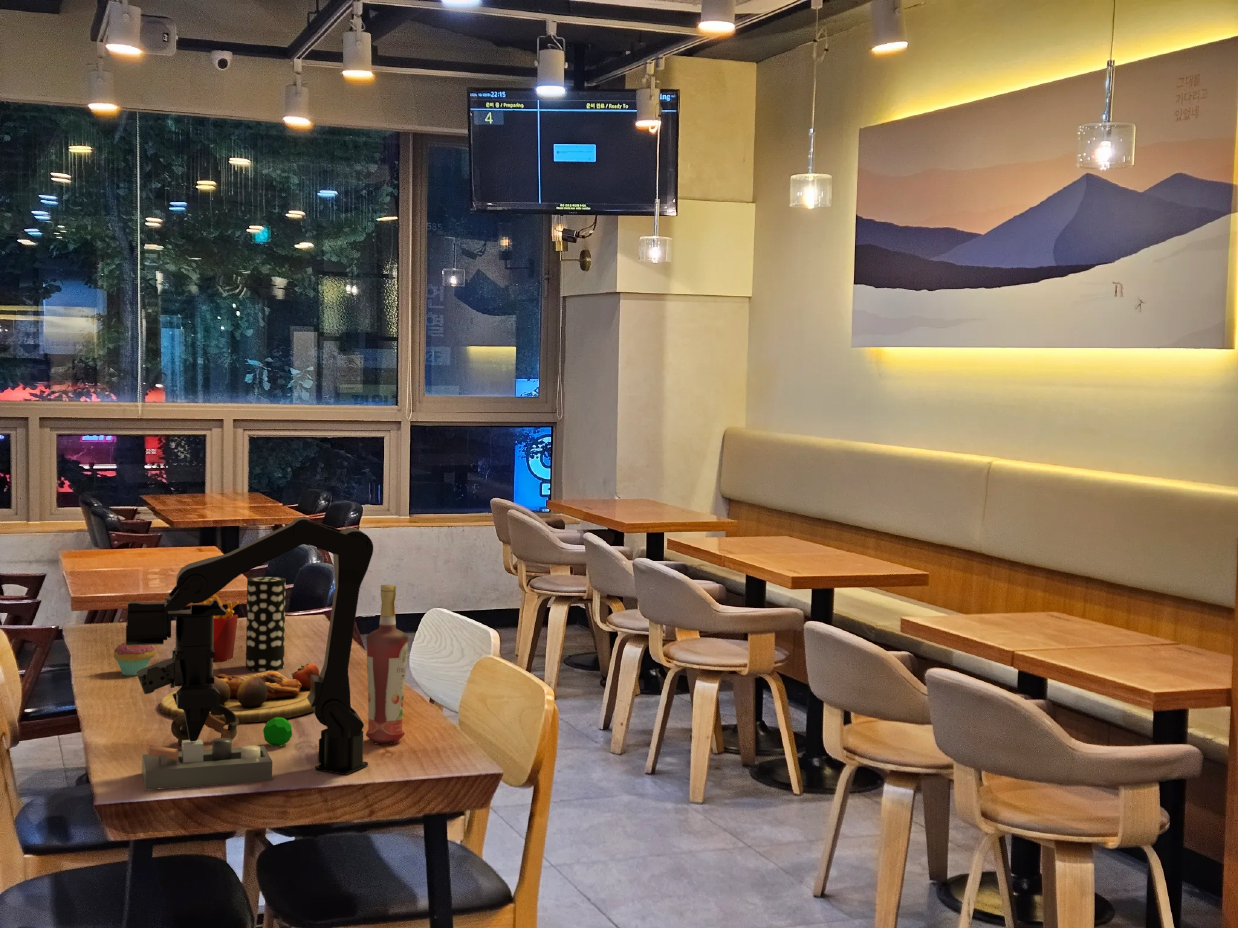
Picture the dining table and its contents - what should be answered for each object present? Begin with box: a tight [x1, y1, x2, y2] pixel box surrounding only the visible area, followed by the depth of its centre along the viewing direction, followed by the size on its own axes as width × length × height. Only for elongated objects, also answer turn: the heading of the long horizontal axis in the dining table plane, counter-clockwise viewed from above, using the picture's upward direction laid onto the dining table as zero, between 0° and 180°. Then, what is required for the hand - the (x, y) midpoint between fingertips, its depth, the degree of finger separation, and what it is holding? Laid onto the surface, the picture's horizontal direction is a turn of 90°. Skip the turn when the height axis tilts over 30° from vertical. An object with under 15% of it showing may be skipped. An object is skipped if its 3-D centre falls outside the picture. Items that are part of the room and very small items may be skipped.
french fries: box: [200, 593, 240, 662], centre depth 304 cm, size 9×8×15 cm
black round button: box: [211, 737, 233, 761], centre depth 212 cm, size 3×3×3 cm
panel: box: [141, 745, 273, 791], centre depth 211 cm, size 19×10×4 cm, turn 113°
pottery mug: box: [170, 705, 240, 747], centre depth 230 cm, size 12×10×8 cm
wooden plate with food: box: [159, 663, 320, 725], centre depth 261 cm, size 32×32×8 cm
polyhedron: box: [262, 717, 293, 747], centre depth 231 cm, size 5×5×5 cm
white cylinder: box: [241, 745, 260, 759], centre depth 214 cm, size 3×3×3 cm
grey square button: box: [181, 738, 204, 763], centre depth 210 cm, size 3×3×3 cm
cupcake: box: [113, 641, 157, 677], centre depth 287 cm, size 9×8×12 cm
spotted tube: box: [245, 576, 287, 672], centre depth 296 cm, size 8×8×20 cm
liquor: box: [365, 584, 409, 746], centre depth 235 cm, size 7×7×28 cm
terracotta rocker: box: [147, 744, 179, 760], centre depth 209 cm, size 4×3×1 cm, turn 112°
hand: (193, 740), depth 210 cm, fingers closed
